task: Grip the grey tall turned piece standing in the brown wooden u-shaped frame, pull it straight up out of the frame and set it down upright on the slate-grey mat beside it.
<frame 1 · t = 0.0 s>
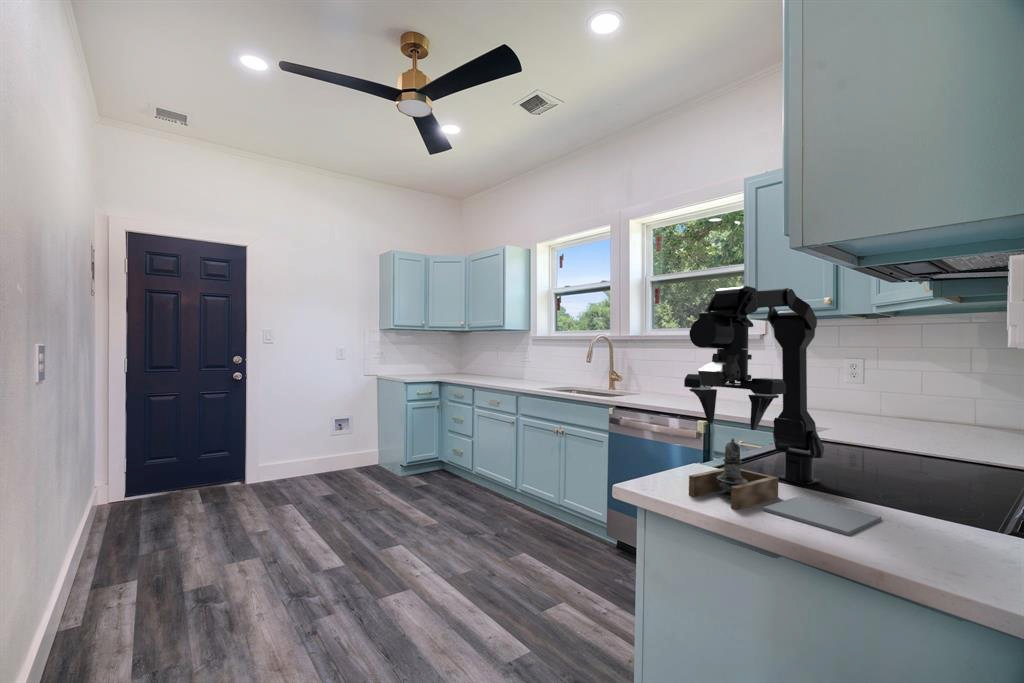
hand: (731, 426, 96), 15 cm above the table, fingers open, 9 cm apart
slate mat: (820, 515, 88), on the table
brown wooden u-shaped frame: (731, 496, 98), on the table
grey tall turned piece: (731, 497, 98), resting in brown wooden u-shaped frame
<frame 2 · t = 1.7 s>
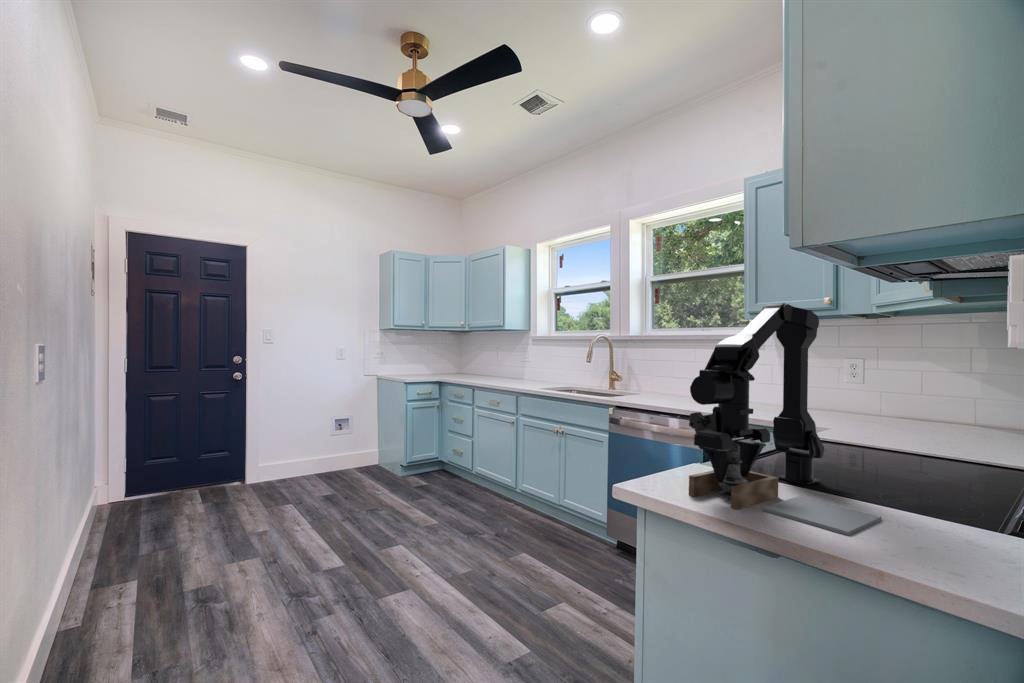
hand: (732, 478, 98), 4 cm above the table, fingers closed on grey tall turned piece, 8 cm apart
grey tall turned piece: (731, 497, 98), resting in brown wooden u-shaped frame, touching gripper
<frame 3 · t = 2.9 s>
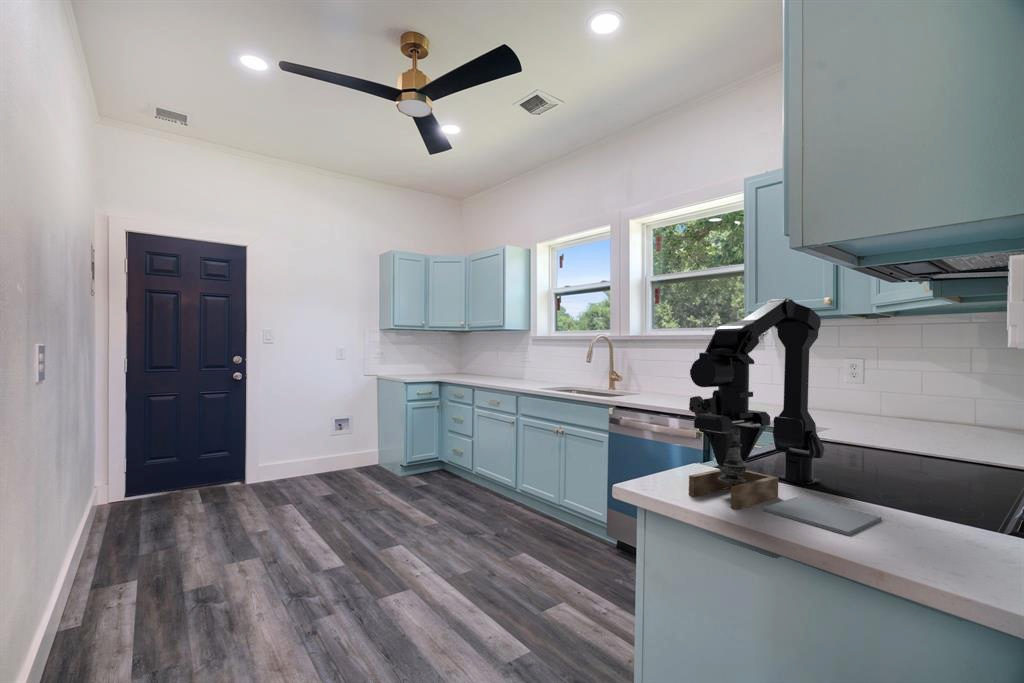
hand: (732, 462, 98), 7 cm above the table, fingers closed on grey tall turned piece, 8 cm apart
grey tall turned piece: (731, 481, 98), point 3 cm above the table, touching gripper
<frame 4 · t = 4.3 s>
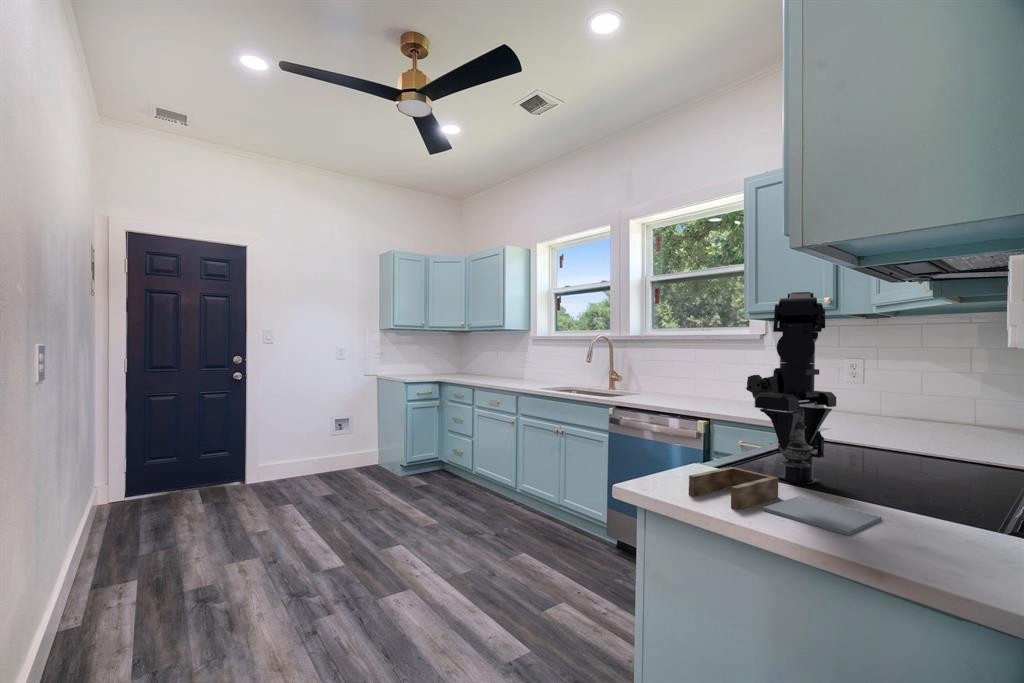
hand: (795, 445, 91), 12 cm above the table, fingers closed on grey tall turned piece, 8 cm apart
grey tall turned piece: (795, 465, 91), point 8 cm above the table, touching gripper
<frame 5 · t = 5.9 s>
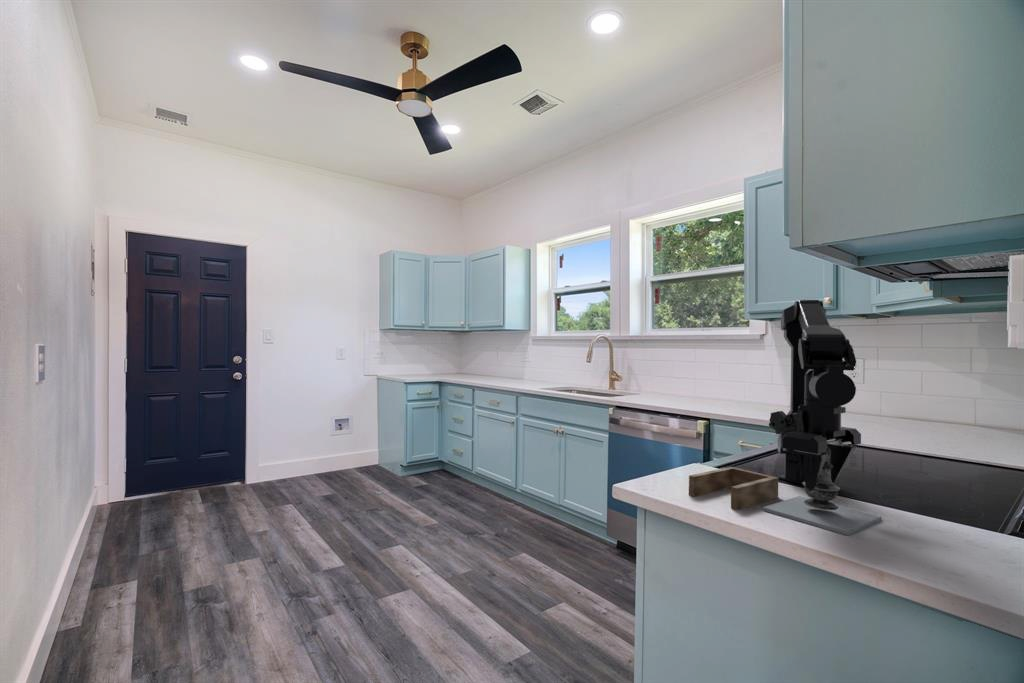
hand: (821, 485, 88), 5 cm above the table, fingers closed on grey tall turned piece, 8 cm apart
grey tall turned piece: (820, 506, 88), point 2 cm above the table, touching gripper
when the fingers open (5 cm above the table, at t = 6.8 s): grey tall turned piece drops 1 cm, resting on slate mat.
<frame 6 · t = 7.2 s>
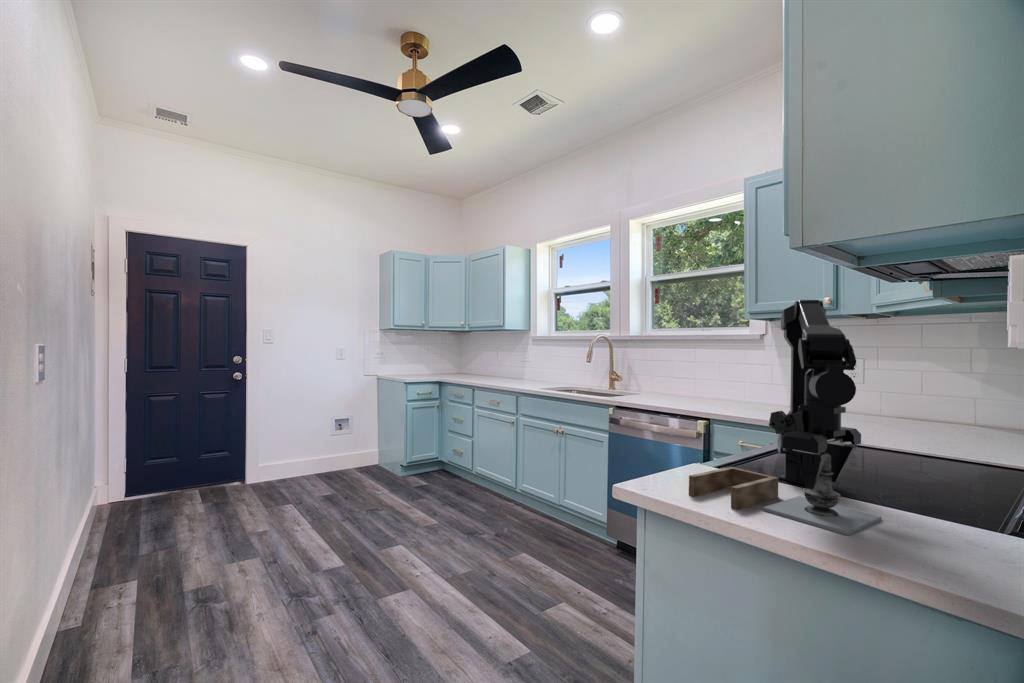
hand: (821, 485, 88), 5 cm above the table, fingers open, 9 cm apart
grey tall turned piece: (821, 513, 88), resting on slate mat
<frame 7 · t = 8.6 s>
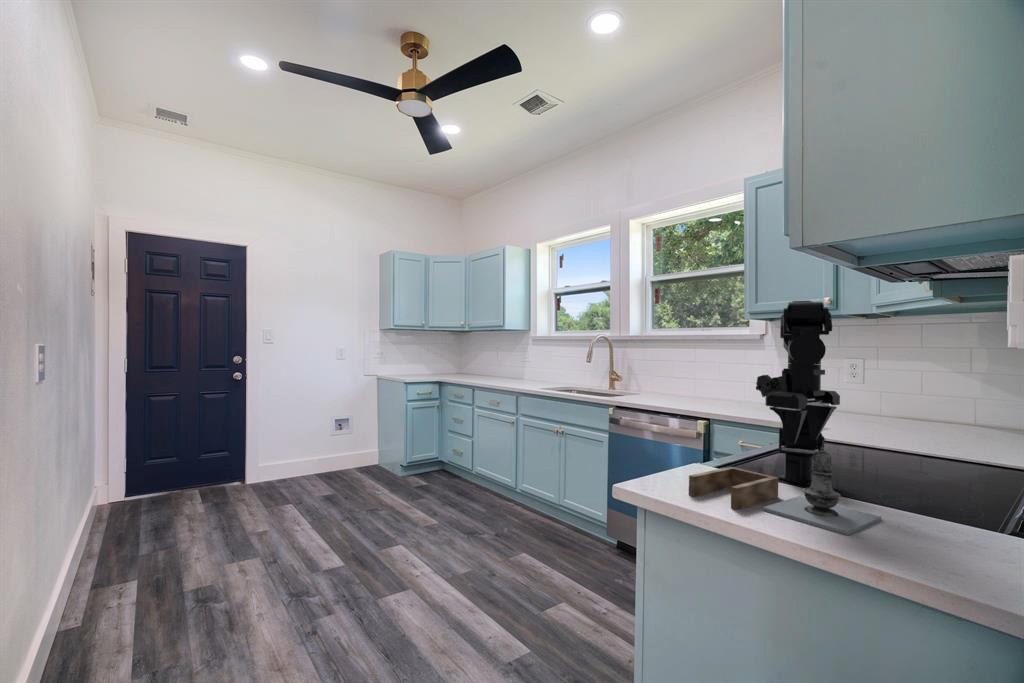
hand: (803, 441, 96), 12 cm above the table, fingers open, 9 cm apart
nothing on the table moved.
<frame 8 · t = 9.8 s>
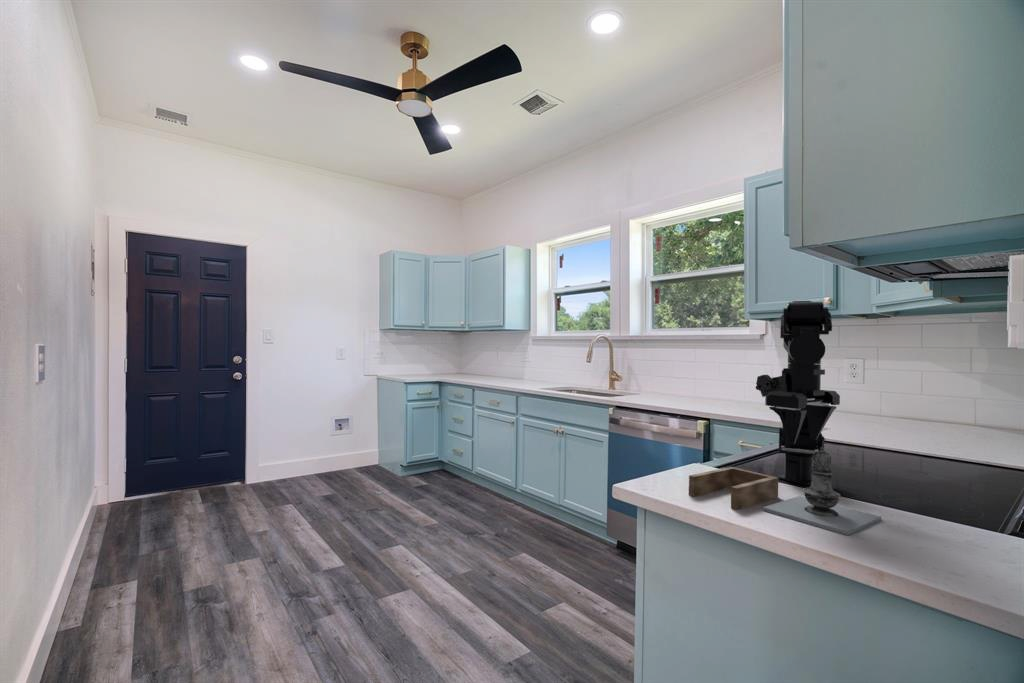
hand: (802, 441, 96), 12 cm above the table, fingers open, 9 cm apart
nothing on the table moved.
at the end: grey tall turned piece inside the target area on the slate mat (0.0 cm from its centre), point 0.4 cm above the slate mat's base; grey tall turned piece tilted 0°; the gripper is holding nothing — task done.
